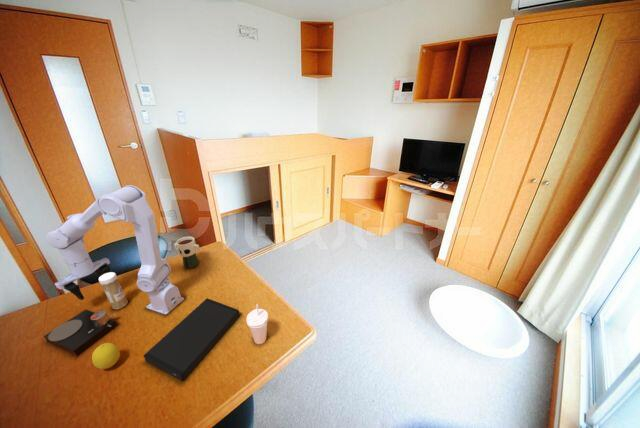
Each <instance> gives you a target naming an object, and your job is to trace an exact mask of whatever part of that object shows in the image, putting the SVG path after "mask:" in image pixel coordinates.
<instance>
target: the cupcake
mask: <svg viewBox="0 0 640 428" xmlns="http://www.w3.org/2000/svg"><path fill="white" fill-rule="evenodd" d="M109 319H110V318H109V316H108V314H107V312H106V310H99V311H96V312H94V314H93V315H92V316H91V320H92V322H93V324H94V326H95V327H96V328H100V327H103V326H105V325H106V324H107V323H108V322H109Z"/></svg>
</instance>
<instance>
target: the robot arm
mask: <svg viewBox="0 0 640 428" xmlns="http://www.w3.org/2000/svg"><path fill="white" fill-rule="evenodd" d="M102 215H104V216H105V215H109V216H111V217H113V218H116V219H118V220H121V221H124V222H126V223H132V226H133V229H134V235H135V240H136V244H137V249H138V254H139V259H140V264H141V266H140V268H139V270H138V273H137V280H136V287H137V288H138V289H139V290H140V291H142V292H144V293H146V294H147V297H148V299H149V304H148V305H146V306H145V307H146V309H148V310H150V311H154V312H156V313H159V314H162V315H168V314H169V313H170V312H171V311H173V310H174V309H175V308H176V307H178V305H179V304H181V303H182V302H183V301H184V300H185V298H184V297H183V296H182V295H181V292H180V289H179V287H178V286H176V285H174V283H173V284H172V282H171V281H170V274H171V272H172V267H171V266H170V265H169V263H168V259H167V258H163V257H162V255H161V248H160V243H159V236H158V231H157V224H156V217H155V214H154V211H153V210H152V208H151V207H150V204H149V203H148V201H147V195H146V193H145V192H144V191H143V190H141V189H140V188H139V187H137V186H135V185H132V184H128V185H124V186H123V187H121V188H119V189H117V190H116V189H115V190H114V191H112V192H110V193H108V194H107V193H106V194H104V195H102V196H101V197H99V198H97V199H96V200H94V202H93V203H91V205H89V206H88V207H87V209H85V210H84V211H83V212H82V213H81V212H79V213H75V214H74V213H72V214H69V215H68V216H67V217H66V219H67V220H66V221H65V222H62V223H60V224H59V225H58V226H57V227H58V228H57V229H54V230H53V231H49V232H48V233H47V234H46V236H45V241H46V242H47V243H48V245H50V246H51V247H53V248H55V249H57V250H58V252H59V254H60V256H61V257H62V259H63V261H64V263H65V264H66V267H67V268H68V270H69V272H70V273H69V274H67V275H66V276H64V277H63V278H62V279H60V280H59V281H57V282H54V285H55V287H56V289H58V290H63V289H64V290H66V291H68V292H70V293H71V294H73V295H74V296H75V297H76V298H77V299H78V300H80V301H83V300H84V299H85V296H84V295H83V293H82V291H81V288H80V285H79V284H76V283H75V282H76V281H78V280H79V279H82V278H85V277H87V276H89V275H91V274H93V273H94V272H96V274H97V275H98V278H99V277H100V276H102V275H103V274H105V273H109V272H111V266H110V265H109V264H111V261H110V259H109V258H107V257H103V258H101V259H99V260H96V261H94V262H93V261H92V259H91V256H90V254H89V251H88V250H87V248H86V246H85V240H84V237H85V235H86V234H87V233H88V232H89V231H91V230H92V229H93V228H94V227H95V224H96V222H95V220H97V219H98V218H99V217H101V216H102Z"/></svg>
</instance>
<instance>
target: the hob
mask: <svg viewBox="0 0 640 428" xmlns="http://www.w3.org/2000/svg"><path fill="white" fill-rule="evenodd" d="M94 313H95V312H94V311H92V310H89V309H86V308H85V309H83V310H82V311H80V312H79V313H77V314H76V315H74V316H73V317H71V318H70V319H68V320H66V322H68V321H71V320H81V321H82V323H83V325H82V327H81V328H80V330H79V331H77V332H76V333H75V334H73V335H72V336H70V337H68V338H66V339H64V340H61V341H56V342H52V341H50V340H49V339H48V336H49V334H50V333H51V332H52V331H53V330H54V329H52V330H51V331H50V332H48V333H46V334H44V335H43V338H44V339H45V340H46V342H47V343H49V344H51V345H53V346H55V347H58V348H59V349H61V350H64V351H65V352H68V353H70V354H72V355H73V356H76V357H78V356H80V355H81V354H82V353H83V352H85V351H86V350H88V349H89V348H90V347H91V346H92V345H94V344H95V343H97V342H98V341H99V340H101V339H102V338H103V337H105V336H106V335H107V334H108V333H110V332H111V331H112V330H114V329H115V328H116V327H117V326H118V325H117V323H116V321H115V320H114V319H112V317H114V316H115V315H116V313H113V314H111V315H110V316H109V317H110V318H109V322H108V323H107V324H106V325H105V326H103V327H100V328H96V327H95V326H94V324H93V322H92V320H91V316H92V315H93V314H94Z"/></svg>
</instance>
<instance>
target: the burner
mask: <svg viewBox="0 0 640 428" xmlns="http://www.w3.org/2000/svg"><path fill="white" fill-rule="evenodd" d="M67 321H68V320H67ZM67 321H65V322H63V323H61V324H60V325H58V326H56V327H55V328H54V329H52V330H53V331H52V330H51V331H52V332H51V331H50V332H51V333H50V334H49V336H48V339H49V340H50V341H52V342H56V341H61V340H64V339H66V338H68V337H70V336H72V335H73V334H75V333H76V332H77V331H79V330H80V328H81V327H82V325H83V323H82V321H81V320H71V321H68V322H67Z"/></svg>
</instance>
